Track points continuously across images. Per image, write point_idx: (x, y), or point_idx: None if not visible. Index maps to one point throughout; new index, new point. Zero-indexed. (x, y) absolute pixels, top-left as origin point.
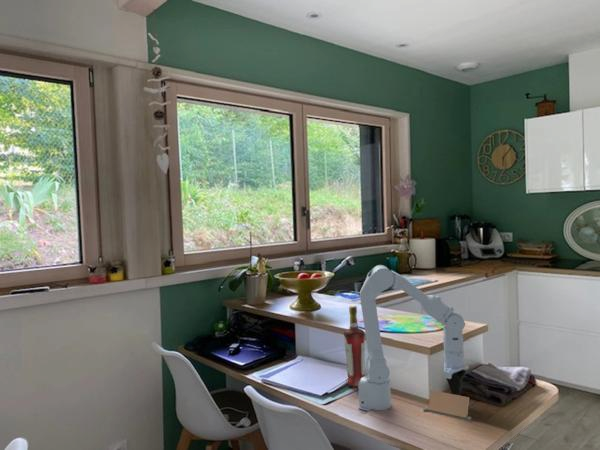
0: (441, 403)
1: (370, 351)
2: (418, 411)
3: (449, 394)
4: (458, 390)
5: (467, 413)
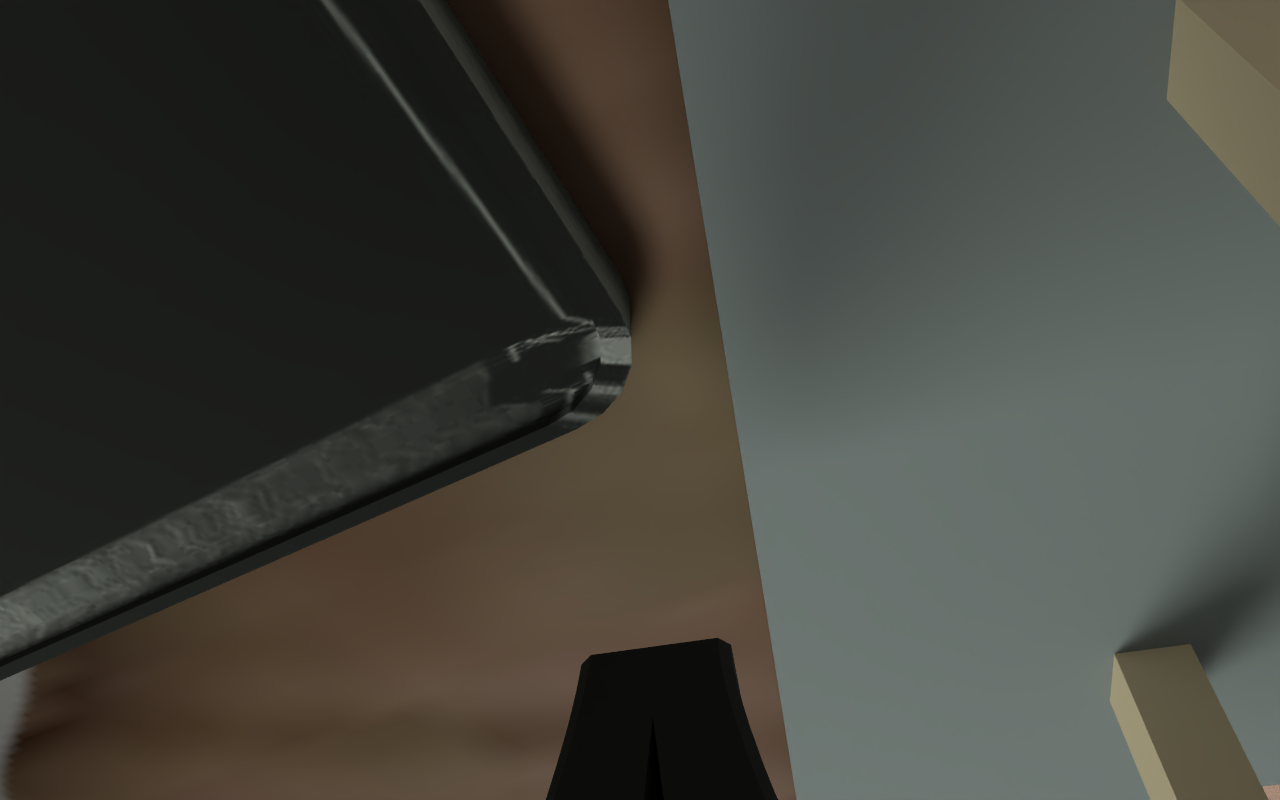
0: None
1: None
2: (1273, 793)
3: None
4: (770, 786)
5: (1265, 15)
